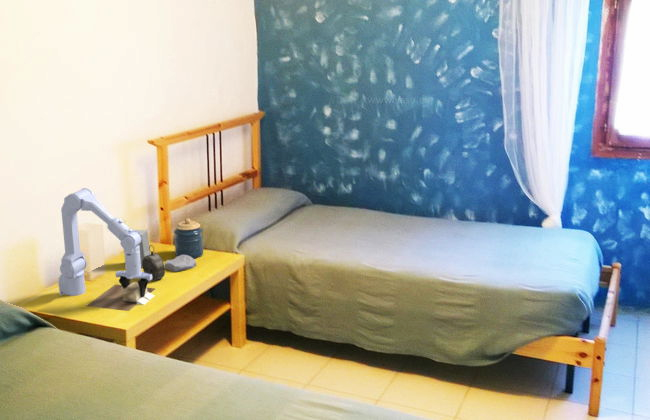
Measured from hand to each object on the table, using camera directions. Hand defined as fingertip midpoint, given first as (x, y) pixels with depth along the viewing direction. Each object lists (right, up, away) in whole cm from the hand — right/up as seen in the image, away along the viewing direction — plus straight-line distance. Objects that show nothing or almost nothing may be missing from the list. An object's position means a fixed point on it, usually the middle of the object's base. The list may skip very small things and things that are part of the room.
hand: (135, 295), depth 270 cm
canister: (+11, +12, +53) cm, 55 cm away
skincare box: (-9, +9, +39) cm, 41 cm away
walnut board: (-6, -2, +2) cm, 7 cm away
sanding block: (0, -1, 0) cm, 1 cm away
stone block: (+10, +7, +37) cm, 39 cm away
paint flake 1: (+4, -3, -3) cm, 5 cm away
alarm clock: (+2, +3, +21) cm, 21 cm away
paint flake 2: (+5, -2, +2) cm, 6 cm away
